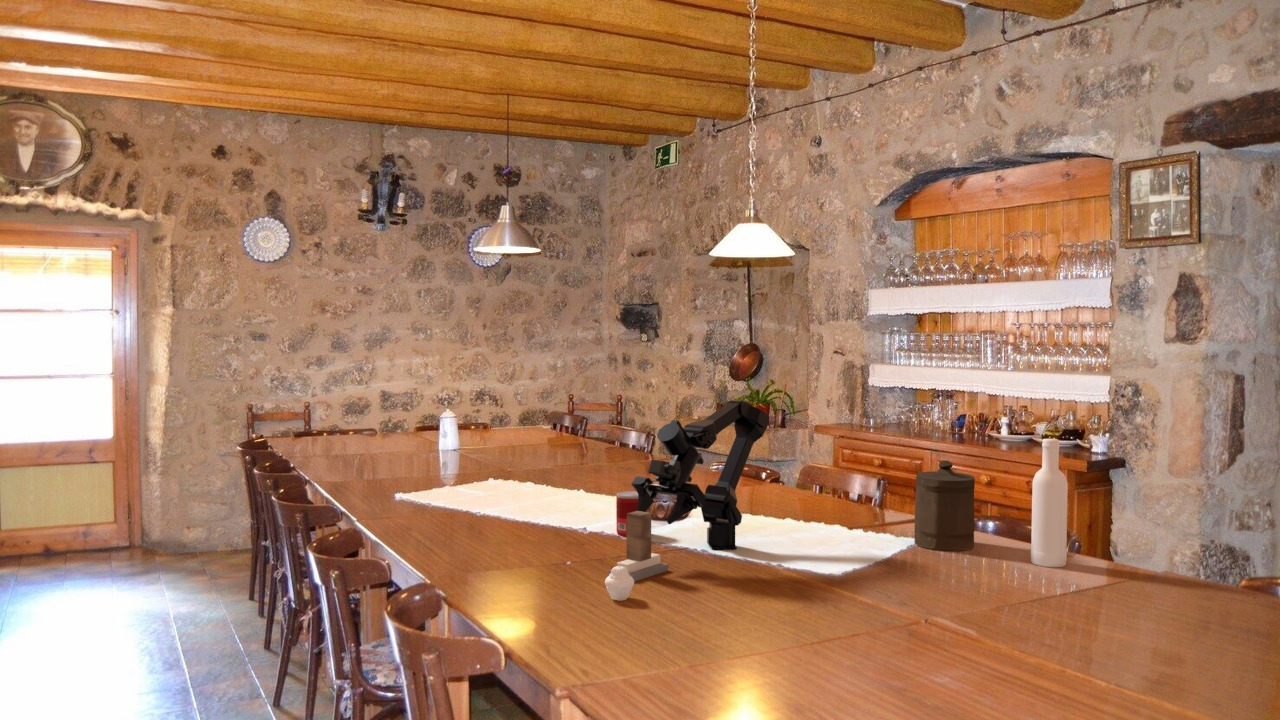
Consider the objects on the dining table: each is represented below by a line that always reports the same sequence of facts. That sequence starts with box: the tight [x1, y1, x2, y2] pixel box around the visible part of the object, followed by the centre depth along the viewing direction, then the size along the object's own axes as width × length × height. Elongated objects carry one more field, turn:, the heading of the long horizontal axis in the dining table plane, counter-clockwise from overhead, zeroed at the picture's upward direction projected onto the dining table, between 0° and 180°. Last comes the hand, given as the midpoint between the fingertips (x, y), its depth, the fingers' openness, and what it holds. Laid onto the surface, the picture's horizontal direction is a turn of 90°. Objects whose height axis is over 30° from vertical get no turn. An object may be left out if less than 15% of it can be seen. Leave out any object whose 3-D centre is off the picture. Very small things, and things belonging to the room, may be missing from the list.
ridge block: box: [608, 552, 669, 583], centre depth 220 cm, size 13×7×4 cm, turn 141°
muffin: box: [604, 565, 635, 602], centre depth 200 cm, size 6×6×7 cm
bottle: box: [1030, 438, 1069, 568], centre depth 229 cm, size 8×8×30 cm
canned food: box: [615, 490, 638, 538], centre depth 261 cm, size 8×8×11 cm
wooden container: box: [914, 459, 976, 552], centre depth 249 cm, size 15×15×22 cm
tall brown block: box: [626, 511, 652, 562], centre depth 220 cm, size 4×4×10 cm
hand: (652, 520), depth 223 cm, fingers open, 9 cm apart
